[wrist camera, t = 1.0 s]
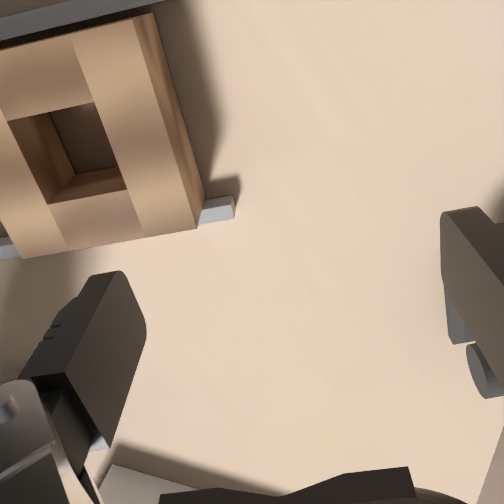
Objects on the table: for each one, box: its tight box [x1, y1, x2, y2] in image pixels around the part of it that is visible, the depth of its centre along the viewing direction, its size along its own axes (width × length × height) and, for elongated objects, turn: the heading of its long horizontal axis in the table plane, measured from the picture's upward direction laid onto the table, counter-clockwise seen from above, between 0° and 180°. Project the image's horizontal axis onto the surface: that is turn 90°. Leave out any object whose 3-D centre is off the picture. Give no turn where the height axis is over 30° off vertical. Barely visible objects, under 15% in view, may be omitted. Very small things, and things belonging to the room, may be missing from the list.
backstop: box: [0, 0, 236, 260], centre depth 26 cm, size 18×22×6 cm
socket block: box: [0, 12, 205, 259], centre depth 26 cm, size 11×11×4 cm
